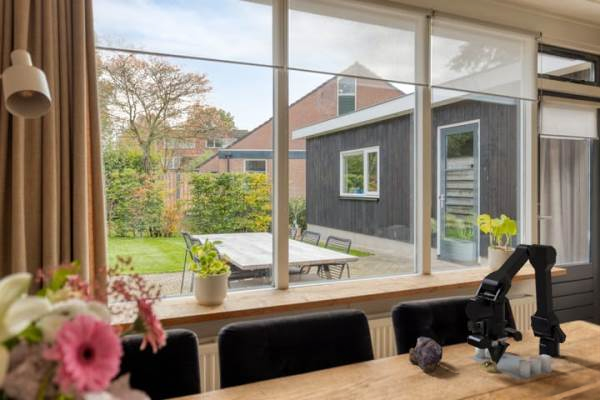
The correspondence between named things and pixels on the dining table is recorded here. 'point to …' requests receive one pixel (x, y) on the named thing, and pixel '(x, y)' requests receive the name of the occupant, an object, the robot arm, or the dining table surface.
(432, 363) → the rock
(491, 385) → the dining table surface
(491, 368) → the nut
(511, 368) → the board
